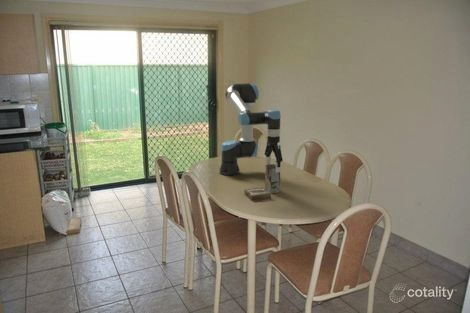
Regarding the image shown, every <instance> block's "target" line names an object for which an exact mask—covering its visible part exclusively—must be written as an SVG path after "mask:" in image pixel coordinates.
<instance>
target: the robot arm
mask: <svg viewBox="0 0 470 313" xmlns="http://www.w3.org/2000/svg"><path fill="white" fill-rule="evenodd" d="M224 96H225V99H226V101H227V102H228V103H230V105H232V107H233V109H234V110H235V112H236V113H237V115H238V118H237V119H238V124H239V125H240V126H241V130H240V131H241V133H240V134H241V137H240V138H239V140H238V141H237V140H227V141H224V142H222V143H221V146H220V148H221V149H220V151H221V163H220V167H219V170H218V171H219V174H220V175H224V176H236V175H237V176H238V174H240V173H241V172H240V166H239V164H238V159H245V158H255V157H256V155H257V154H258V152H259V151H258V149H259V146H258V143H257V141H256V139H255V138H254V126H255V125H256V126H257V125H267V130H266V131H267V136H266V137H267V139H266V140H267V142H266V147H265V150H264V155H265V165H271V158H272V157H271V154H272V153H273V154H274V156H275V160H276V161H275V165H276V172H280V173H281V163H282V162H283V161H284V160H283V155H282V150H281V145H280V144H279V143H280V140H281V137H280V136H281V111H280V110H279V109H278V110H277V109H270V110H268V111H260V112H257V111H256V112H254V105H255V104H256V101H257V100H259V89H258V86H257V84H255V83H249V82H248V83H233V84H230V85H229V86H228V87H227V89H226V90H225V93H224Z"/></svg>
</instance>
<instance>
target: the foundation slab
mask: <svg viewBox="0 0 470 313" xmlns="http://www.w3.org/2000/svg"><path fill="white" fill-rule="evenodd" d="M243 190H244V192H243V194H244V195H245V196H246V197H247V198H248V199H249V200H251V201H252V202H253V201H261V200H266V199H267V200H268V199H271V196H272V195H271V194H272V193H270V192H269V191H267V190H266V189H265V187H262V186H261V187H255V188H247V189H246V188H245V189H243Z"/></svg>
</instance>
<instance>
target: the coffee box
mask: <svg viewBox="0 0 470 313" xmlns="http://www.w3.org/2000/svg"><path fill="white" fill-rule="evenodd" d="M264 167H265V174H264V176H265V177H264V180H265V181H264V184H265V185H264V189H265V190H266V191H268V192H269V193H271V194H276V193H280V192H281V191H280V186H281V171H280V172H276V164H275V163H273V164H271V163H270V165H266V164H265V166H264Z"/></svg>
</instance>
